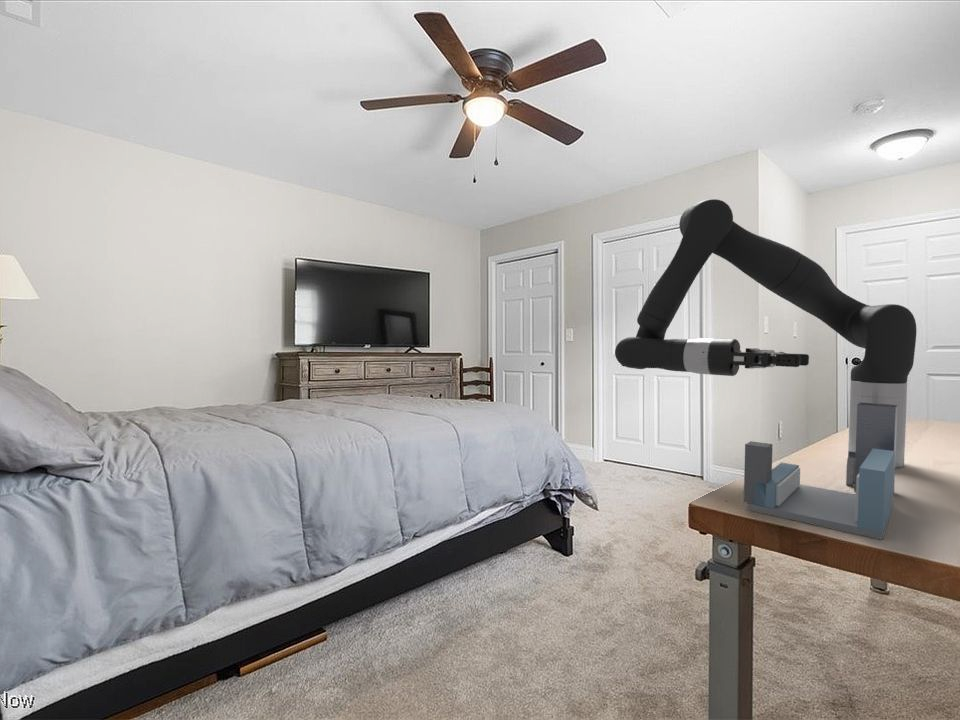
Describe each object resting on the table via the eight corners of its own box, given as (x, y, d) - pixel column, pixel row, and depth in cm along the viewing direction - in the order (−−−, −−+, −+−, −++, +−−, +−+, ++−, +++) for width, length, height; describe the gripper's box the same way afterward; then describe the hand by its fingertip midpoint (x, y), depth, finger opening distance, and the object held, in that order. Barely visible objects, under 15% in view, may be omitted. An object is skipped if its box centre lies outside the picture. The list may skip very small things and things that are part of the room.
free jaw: (771, 480, 86) (772, 430, 85) (801, 485, 83) (802, 433, 82) (743, 502, 74) (745, 444, 74) (777, 509, 71) (778, 448, 71)
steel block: (857, 486, 86) (860, 402, 85) (894, 492, 83) (897, 405, 82) (854, 491, 83) (857, 404, 83) (892, 497, 80) (895, 407, 79)
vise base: (775, 485, 86) (777, 435, 86) (893, 507, 75) (895, 450, 75) (747, 509, 74) (748, 451, 74) (882, 539, 63) (884, 471, 63)
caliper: (853, 488, 86) (854, 453, 86) (845, 486, 87) (846, 452, 86) (872, 467, 100) (873, 437, 100) (865, 466, 101) (866, 436, 100)
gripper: (700, 338, 95) (798, 339, 84) (722, 338, 105) (812, 340, 94) (699, 376, 95) (796, 382, 84) (721, 373, 106) (810, 378, 95)
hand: (804, 360), depth 89 cm, fingers open, 8 cm apart
